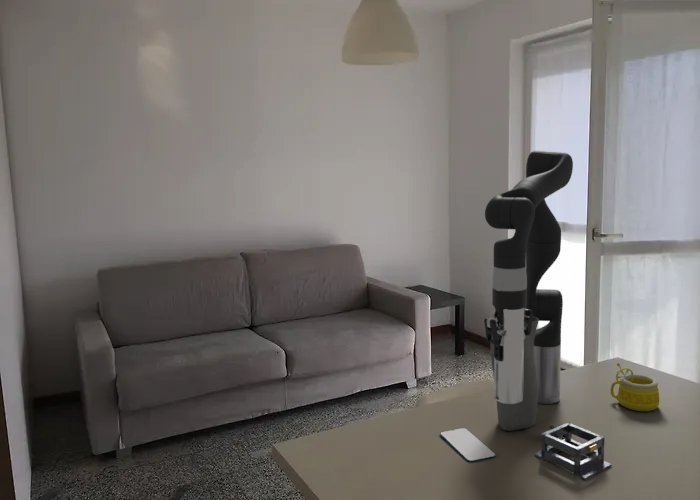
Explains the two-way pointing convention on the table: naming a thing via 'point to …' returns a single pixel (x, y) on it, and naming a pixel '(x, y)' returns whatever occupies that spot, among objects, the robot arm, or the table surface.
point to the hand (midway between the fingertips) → (508, 357)
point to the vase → (526, 410)
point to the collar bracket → (574, 450)
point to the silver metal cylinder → (510, 359)
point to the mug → (636, 391)
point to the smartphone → (467, 445)
